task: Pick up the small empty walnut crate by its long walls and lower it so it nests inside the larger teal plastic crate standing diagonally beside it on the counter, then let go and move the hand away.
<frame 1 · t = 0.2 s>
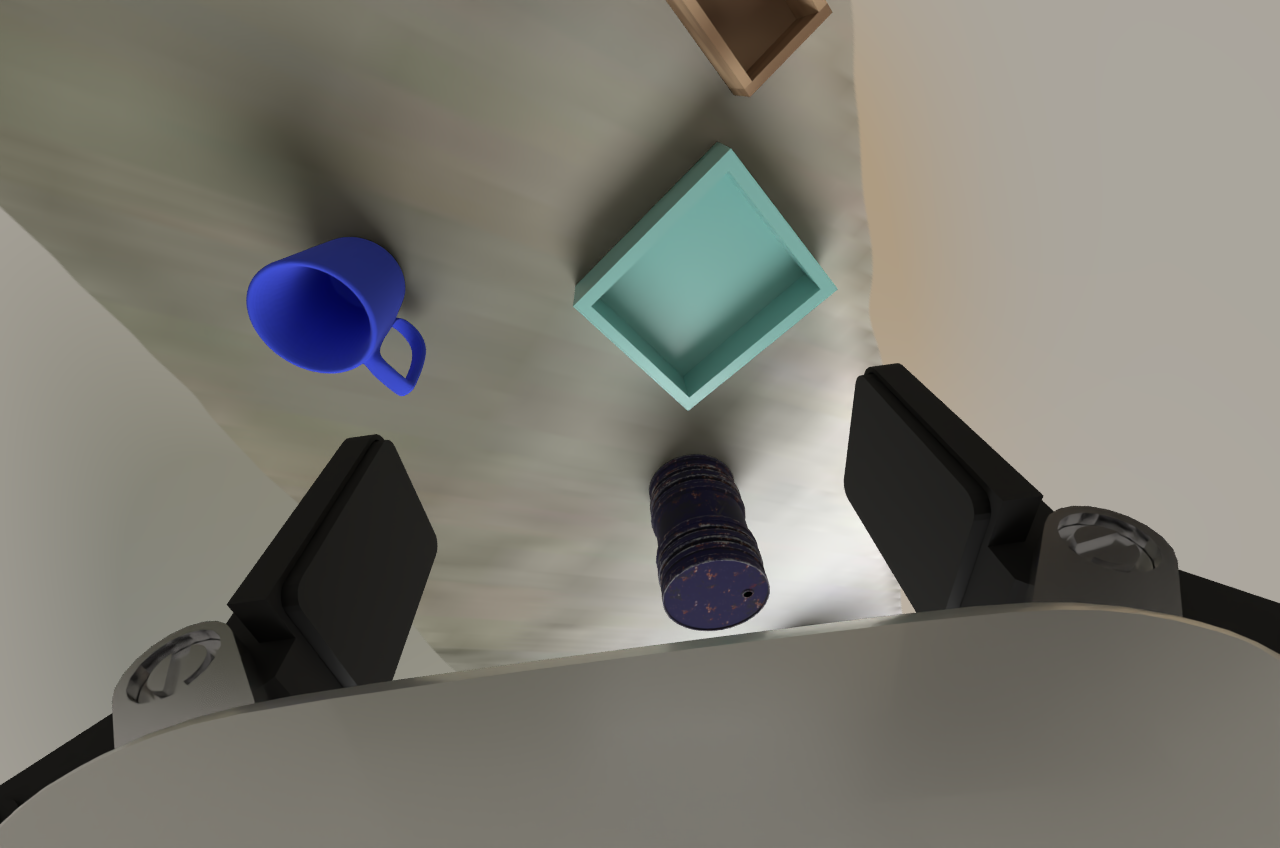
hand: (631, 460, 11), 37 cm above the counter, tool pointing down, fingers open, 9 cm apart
storage jar: (691, 487, 59), on the counter
mug: (385, 292, 45), on the counter
walnut crate: (730, 0, 36), on the counter
teal crate: (696, 278, 46), on the counter
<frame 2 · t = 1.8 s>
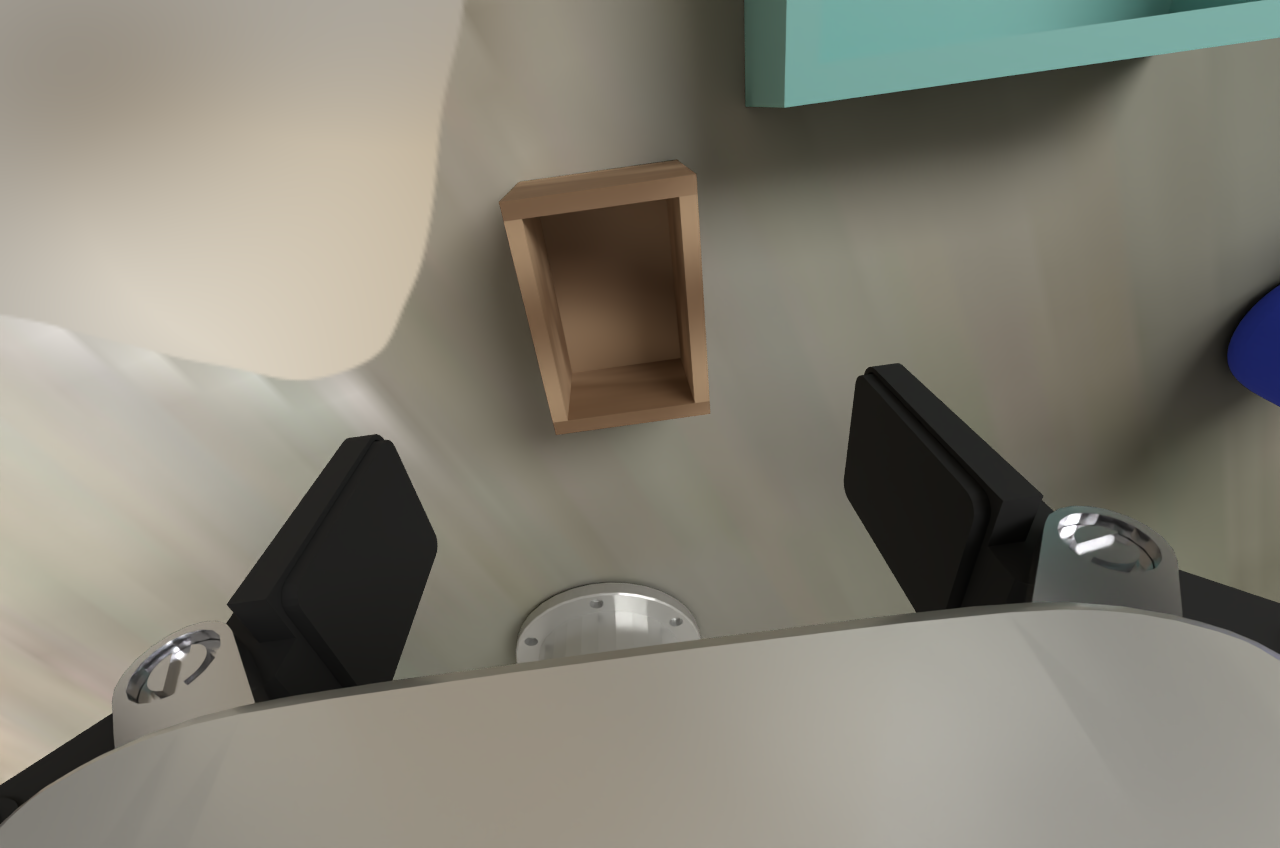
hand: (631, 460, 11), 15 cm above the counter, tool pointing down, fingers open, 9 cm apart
walnut crate: (614, 281, 23), on the counter
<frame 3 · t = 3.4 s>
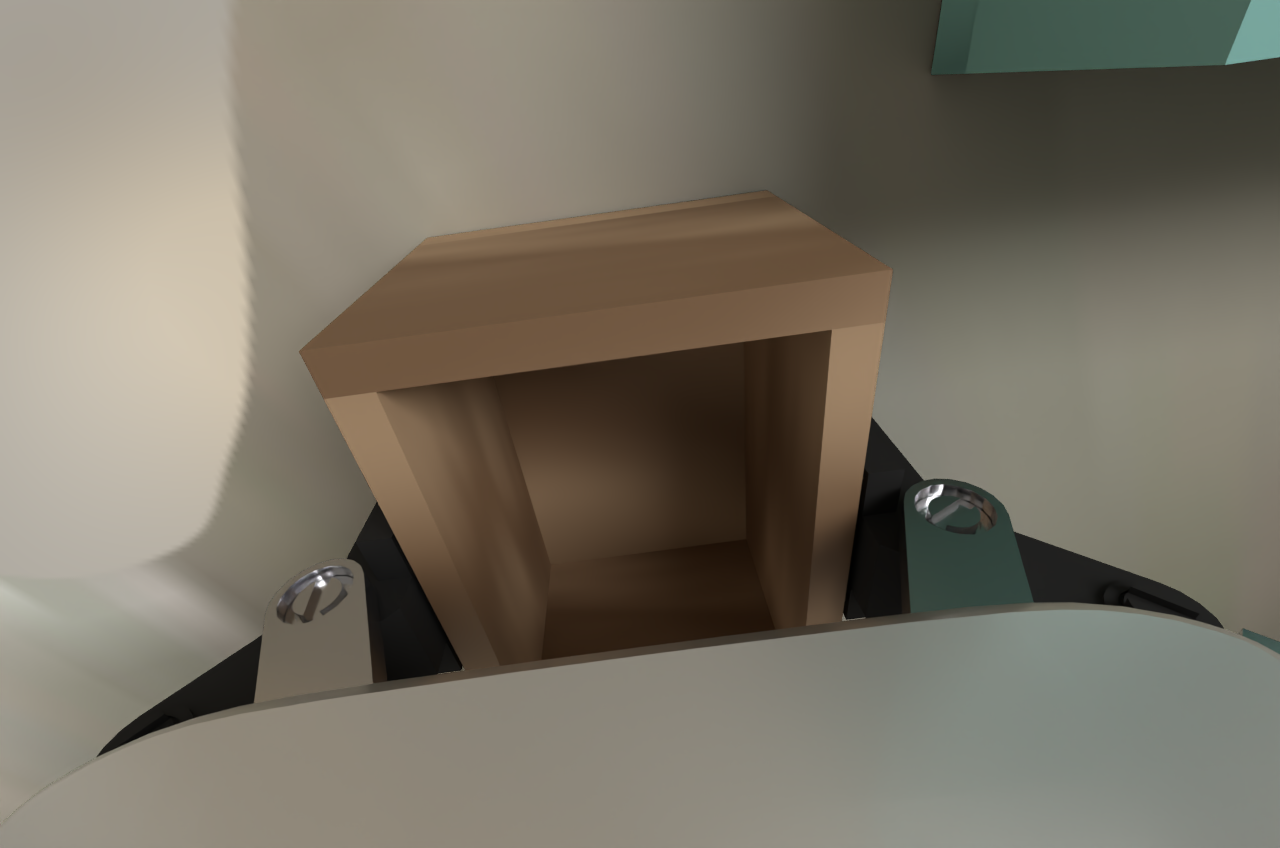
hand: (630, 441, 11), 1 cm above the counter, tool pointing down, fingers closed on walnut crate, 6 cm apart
walnut crate: (628, 416, 12), on the counter, touching gripper
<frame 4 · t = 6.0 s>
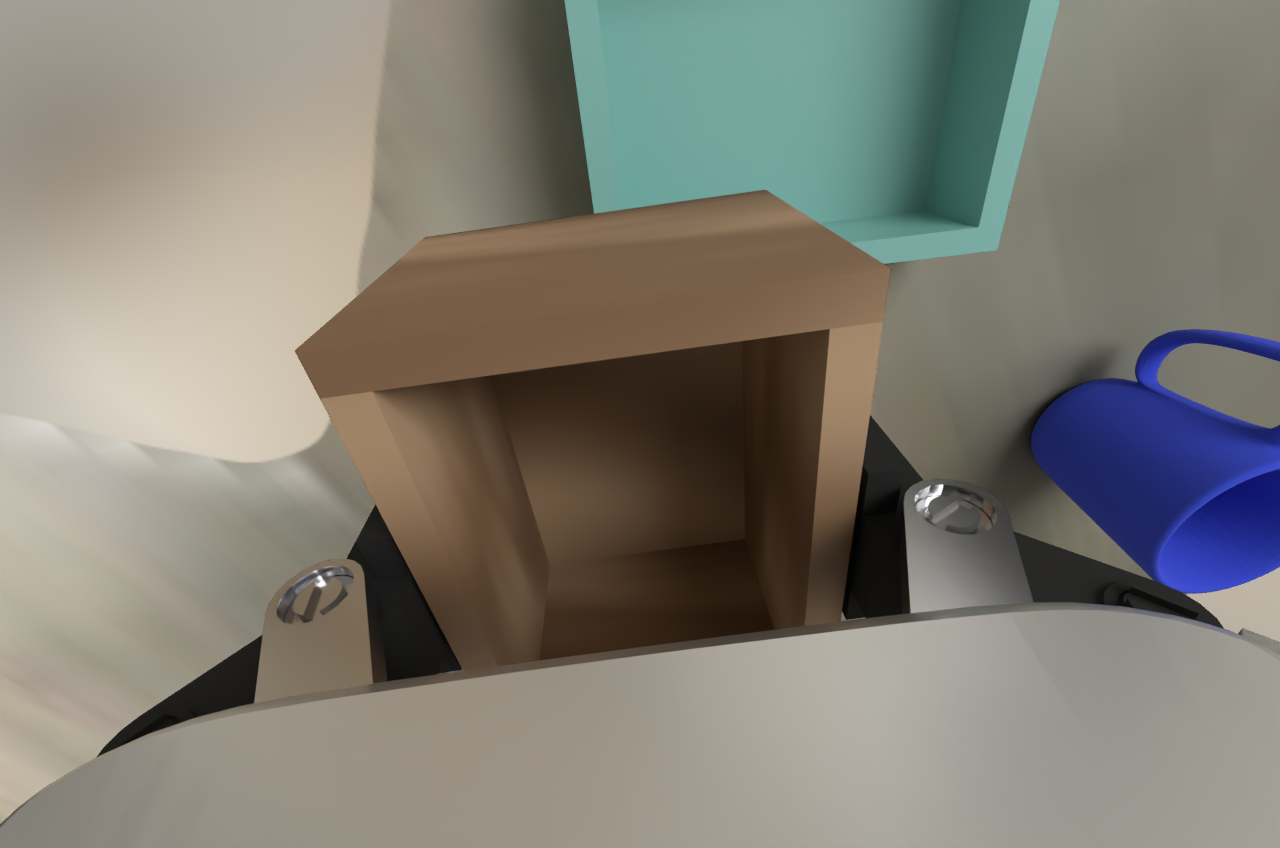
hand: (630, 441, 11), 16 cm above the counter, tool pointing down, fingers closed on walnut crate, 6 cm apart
mug: (1090, 391, 32), on the counter
walnut crate: (626, 416, 12), point 15 cm above the counter, touching gripper
teal crate: (772, 72, 22), on the counter
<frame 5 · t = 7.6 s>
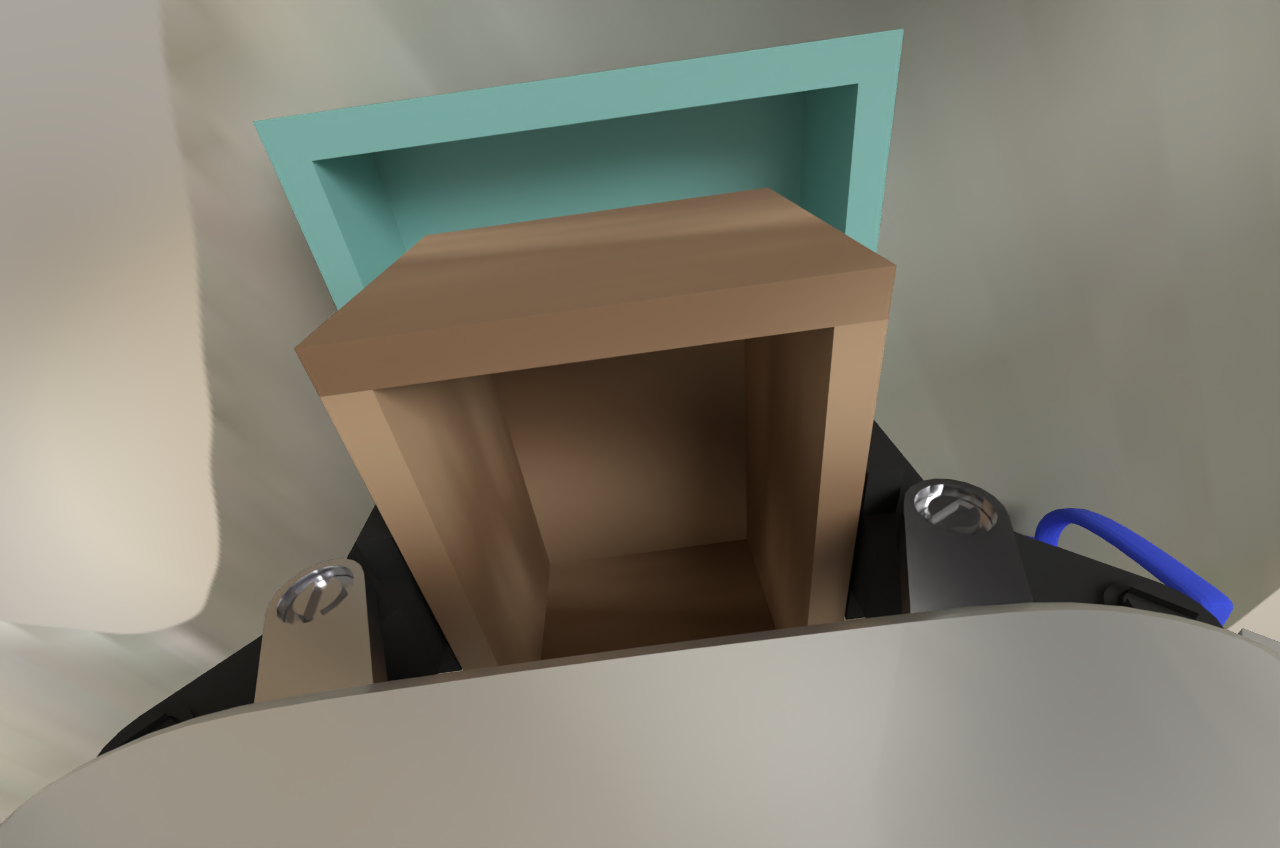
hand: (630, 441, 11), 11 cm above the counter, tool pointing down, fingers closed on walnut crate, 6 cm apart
mug: (999, 542, 30), on the counter
walnut crate: (627, 415, 12), point 10 cm above the counter, touching gripper
teal crate: (613, 289, 21), on the counter
when the fingers open (7 cm above the counter, at t = 8.8 s): walnut crate drops 5 cm, resting on teal crate.
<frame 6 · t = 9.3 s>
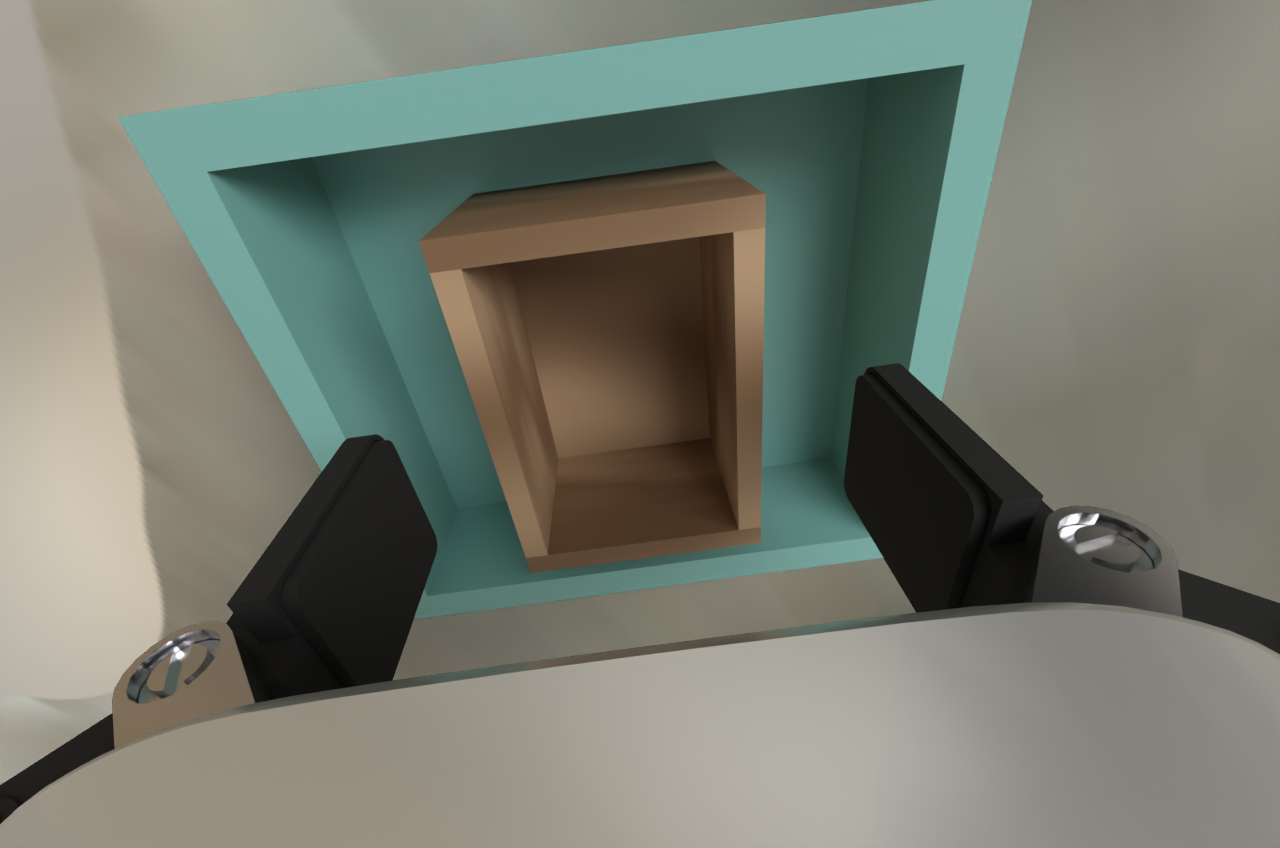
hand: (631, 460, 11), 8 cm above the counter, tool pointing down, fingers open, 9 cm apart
walnut crate: (617, 335, 16), point 1 cm above the counter, touching teal crate
teal crate: (619, 322, 17), on the counter
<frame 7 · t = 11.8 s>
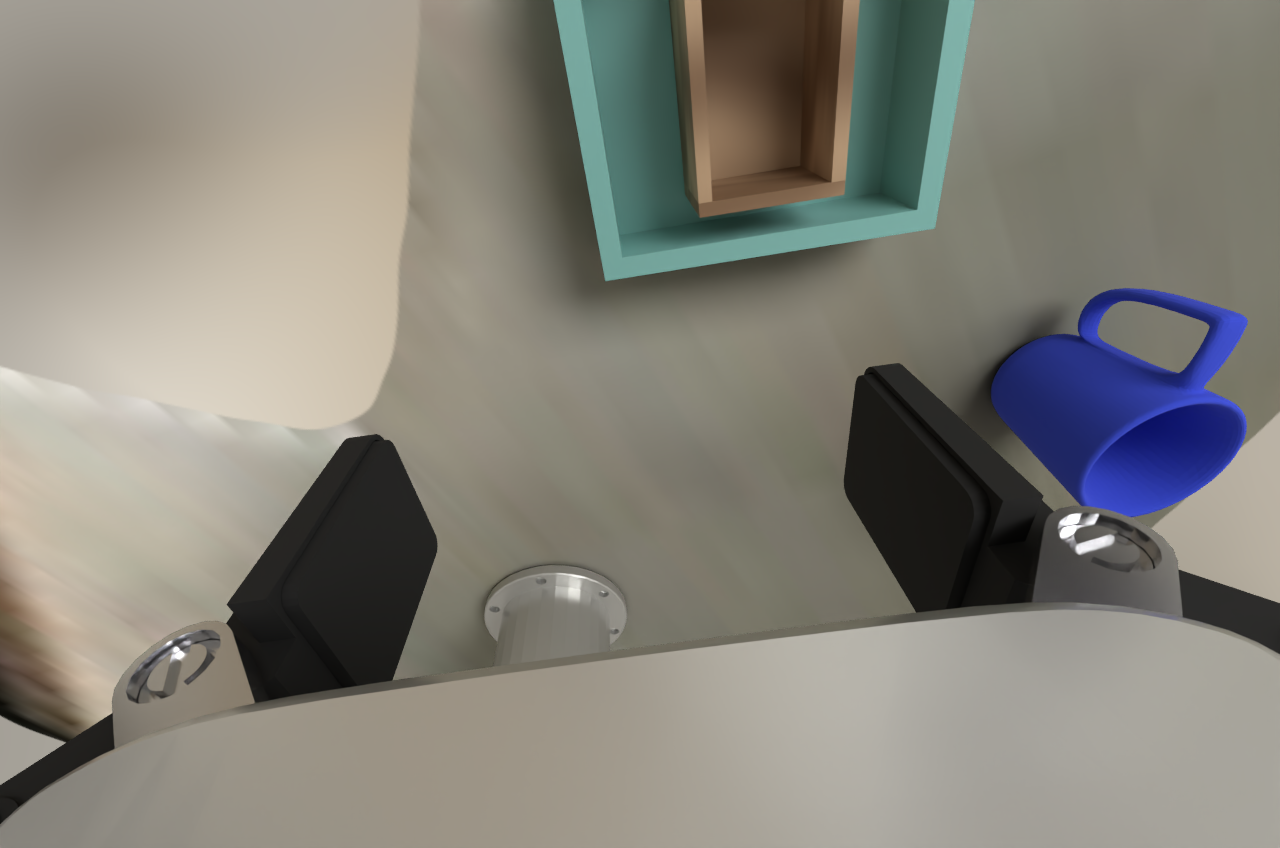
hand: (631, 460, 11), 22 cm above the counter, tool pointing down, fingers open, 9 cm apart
mug: (1044, 346, 35), on the counter
walnut crate: (743, 82, 25), point 1 cm above the counter, touching teal crate
teal crate: (741, 80, 26), on the counter
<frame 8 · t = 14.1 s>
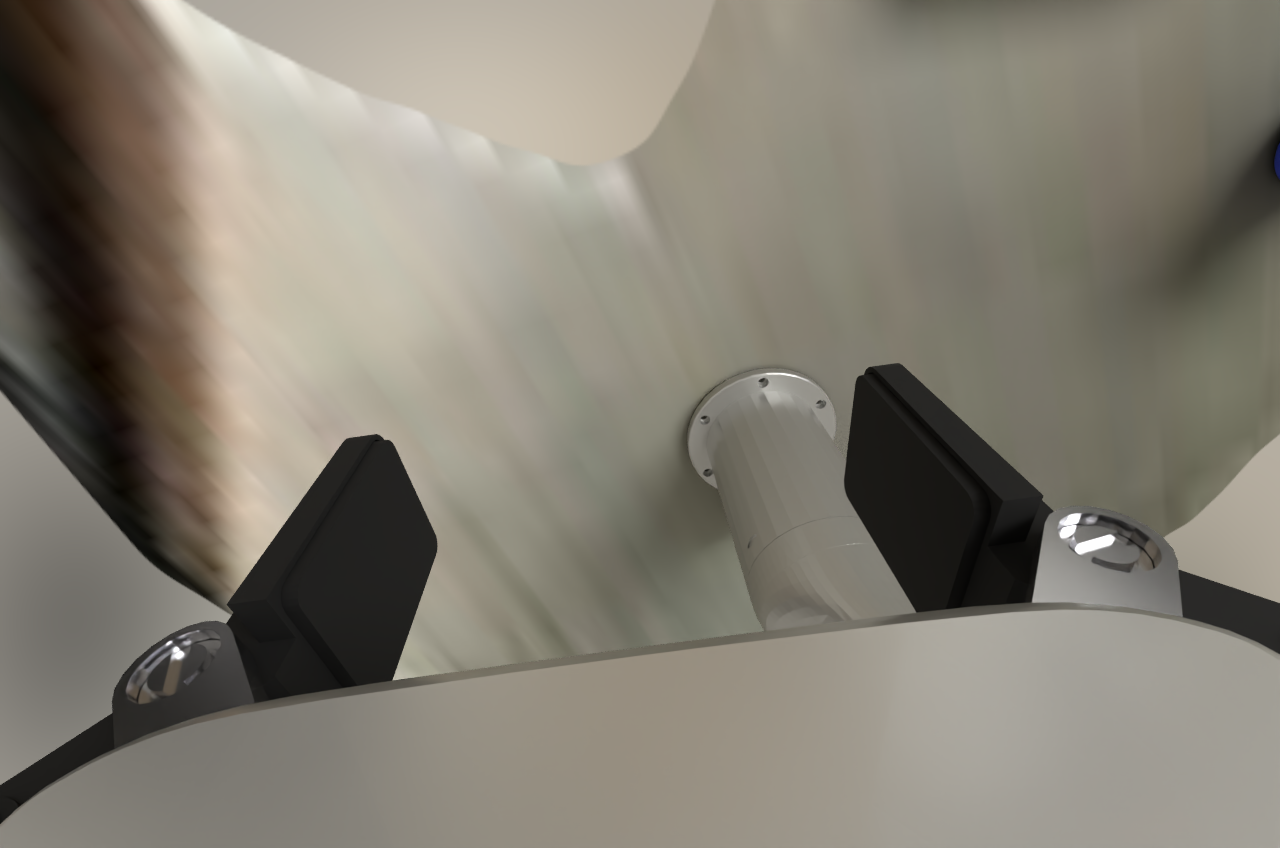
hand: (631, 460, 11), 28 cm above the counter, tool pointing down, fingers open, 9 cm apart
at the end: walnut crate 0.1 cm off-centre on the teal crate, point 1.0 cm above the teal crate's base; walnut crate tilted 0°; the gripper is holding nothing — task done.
